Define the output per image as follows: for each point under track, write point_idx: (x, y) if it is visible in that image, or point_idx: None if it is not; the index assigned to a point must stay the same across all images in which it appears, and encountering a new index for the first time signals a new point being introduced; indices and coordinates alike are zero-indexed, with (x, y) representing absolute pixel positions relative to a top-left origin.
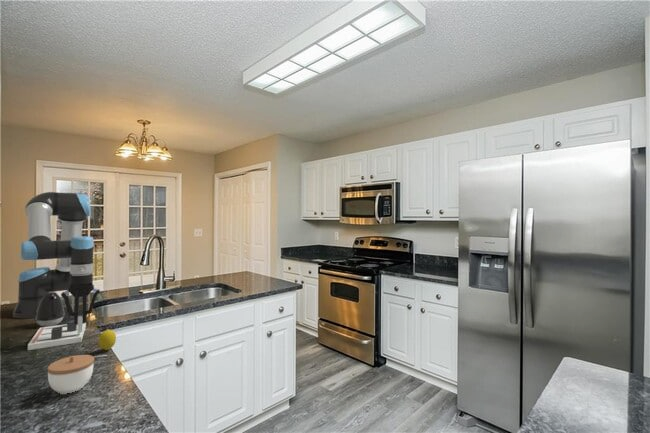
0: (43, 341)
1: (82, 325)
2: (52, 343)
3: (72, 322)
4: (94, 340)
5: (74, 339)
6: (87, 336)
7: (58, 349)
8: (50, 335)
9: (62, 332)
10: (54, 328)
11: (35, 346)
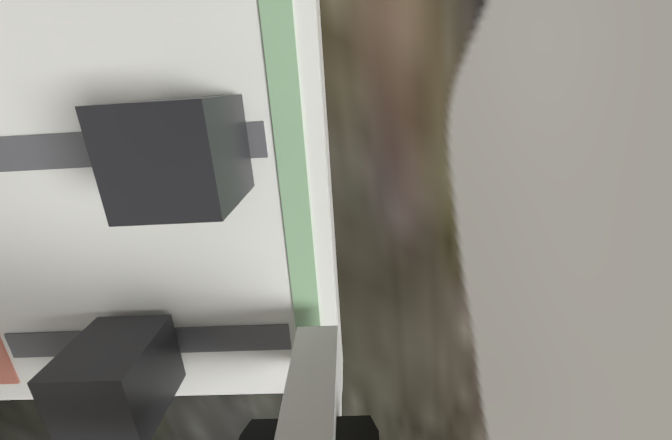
0: None
1: (338, 412)
2: None
3: (175, 223)
4: (433, 366)
5: None
6: (373, 241)
7: (227, 433)
8: (48, 229)
9: None
10: (56, 405)
11: None
